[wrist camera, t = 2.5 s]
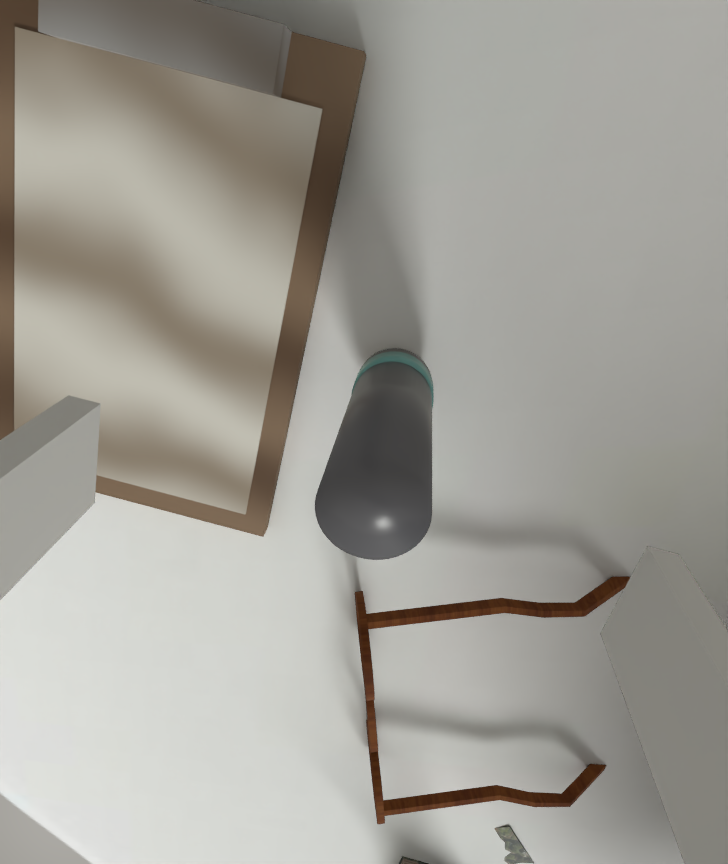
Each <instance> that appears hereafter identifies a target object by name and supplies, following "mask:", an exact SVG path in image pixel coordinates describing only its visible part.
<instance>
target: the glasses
mask: <svg viewBox="0 0 728 864" xmlns="http://www.w3.org/2000/svg"><path fill="white" fill-rule="evenodd" d="M629 579H630V577H611V578H610V579H608V580H607V581H606V582H604V583H603V584H601V585H600V586H598V587H597V588H595V589H594V590H593V591H591V592H590V593H588V594H587V595H585V596H584V597H582V598H581V599H579V600H578V601H577V602H575V603H537V602H529V601H521V600H513V599H505V598H498V599H489V600H481V601H472V602H464V603H455V604H447V605H438V606H430V607H421V608H413V609H404V610H396V611H387V612H379V613H370V614H366V609H365V602H364V596H363V591H359V592H355V602H356V613H357V624H358V634H359V644H360V653H361V662H362V671H363V679H364V687H365V697H366V707H367V719H366V723H367V734H368V745H369V755H370V765H371V774H372V783H373V792H374V801H375V809H376V817H377V824H383V823H385V817H384V816H387V815H394V814H402V813H409V812H416V811H423V810H431V809H438V808H445V807H452V806H459V805H467V804H474V803H481V802H488V801H496V800H503V801H508V802H513V803H518V804H523V805H527V806H532V807H570V806H571V805H572V804H573V803H574V802H575V801H576V800H577V799H578V797H579V796H580V795H581V794H582V793H583V792H584V791H585V790H586V789H587V788H588V787H589V786H590V785H591V784H592V782H593V781H594V780H595V779H596V778H597V777H598V776H599V775H600V774H601V773H602V772H603V771H604V769H605V767H606V765H598V764H590V765H589V766H588V767H587V768H586V769H585V770H584V771H583V772H582V773H581V774H580V775H579V776H578V777H577V778H576V779H575V780H574V782H573V783H572V784H571V785H570V786H569V787H568V788H567V789H566V790H565V791H564V792H563V793H562V794H557V793H535V792H526V791H521V790H517V789H512V788H508V787H503V786H498V785H494V786H487V787H479V788H472V789H464V790H457V791H450V792H442V793H435V794H428V795H420V796H413V797H406V798H399V799H391V800H384V801H383V794H382V785H381V775H380V766H379V757H378V743H377V731H376V719H375V708H374V682H373V670H372V660H371V650H370V641H369V632H368V629H374V628H382V627H390V626H399V625H407V624H416V623H424V622H432V621H441V620H449V619H457V618H466V617H474V616H482V615H491V614H499V613H511V614H519V615H527V616H536V617H544V618H545V617H582V616H586V615H587V614H589V613H590V612H591V611H593V610H594V609H596V608H597V607H598V606H600V605H601V604H603V603H604V602H605V601H607V600H608V599H610V598H611V597H613V596H614V595H615V594H617V593H618V592H620V591H621V590H622V589H624V588H625V587H626V585H627V583H628V581H629Z"/></svg>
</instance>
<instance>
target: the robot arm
mask: <svg viewBox="0 0 728 864" xmlns="http://www.w3.org/2000/svg"><path fill="white" fill-rule="evenodd" d="M100 408H101V404H100V403H96V402H93V401H89V400H85V399H81V398H77V397H73V396H70V395H68V396H67V397H65V398H63V399H62V400H60V401H59V402H57V403H56V404H54V405H53V406H51V407H50V408H48V409H47V410H45V411H44V412H42V413H41V414H39V415H38V416H36V417H35V418H33V419H32V420H30V421H28V422H27V423H25V424H24V425H22V426H21V427H19V428H18V429H16V430H15V431H13V432H12V433H10V434H9V435H7V436H6V437H4V438H3V439H1V440H0V600H1V599H2V598H3V597H4V596H5V595H6V594H7V593H8V592H9V591H10V590H11V589H12V588H13V587H14V586H15V584H16V583H17V582H18V581H19V580H20V579H21V578H22V577H23V576H24V575H25V574H26V573H27V572H28V571H29V570H30V569H31V568H32V567H33V566H34V565H35V564H36V563H37V562H38V561H39V560H40V559H41V558H42V557H43V556H44V555H45V554H46V552H47V551H48V550H49V549H50V548H51V547H52V546H53V545H54V544H55V543H56V542H57V541H58V540H59V539H60V538H61V537H62V536H63V535H64V534H65V533H66V532H67V531H68V530H69V529H70V528H71V527H72V526H73V525H74V524H75V523H76V522H77V520H78V519H79V518H80V517H81V516H82V515H83V514H84V513H85V512H86V511H87V510H88V509H89V508H90V507H91V506H92V505H93V504H94V503H95V491H96V475H97V458H98V441H99V425H100ZM601 636H602V639H603V642H604V644H605V647H606V650H607V653H608V655H609V658H610V661H611V663H612V666H613V669H614V672H615V674H616V677H617V680H618V683H619V685H620V688H621V691H622V694H623V696H624V699H625V702H626V705H627V707H628V710H629V713H630V715H631V718H632V721H633V724H634V726H635V729H636V732H637V735H638V737H639V740H640V743H641V746H642V748H643V751H644V754H645V757H646V759H647V762H648V765H649V767H650V770H651V773H652V776H653V778H654V781H655V784H656V787H657V789H658V792H659V795H660V798H661V800H662V803H663V806H664V809H665V811H666V814H667V817H668V819H669V822H670V825H671V828H672V830H673V833H674V836H675V839H676V841H677V844H678V847H679V850H680V852H681V855H682V858H683V860H684V863H685V864H728V631H727V629H726V627H725V626H724V624H723V623H722V621H721V620H720V618H719V616H718V615H717V613H716V612H715V610H714V609H713V607H712V605H711V604H710V602H709V601H708V599H707V598H706V596H705V595H704V593H703V591H702V590H701V588H700V587H699V585H698V584H697V582H696V580H695V579H694V577H693V576H692V574H691V573H690V571H689V569H688V568H687V566H686V565H685V563H684V562H683V560H682V558H681V557H680V555H679V554H676V553H672V552H668V551H665V550H661V549H657V548H653V547H649V546H647V548H646V549H645V551H644V553H643V555H642V557H641V559H640V561H639V562H638V564H637V566H636V568H635V570H634V572H633V574H632V575H631V577H630V579H629V581H628V583H627V585H626V587H625V588H624V590H623V592H622V594H621V596H620V598H619V600H618V602H617V603H616V605H615V607H614V609H613V611H612V613H611V615H610V616H609V618H608V620H607V622H606V624H605V626H604V628H603V629H602V631H601Z"/></svg>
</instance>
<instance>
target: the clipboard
mask: <svg viewBox="0 0 728 864" xmlns="http://www.w3.org/2000/svg"><path fill="white" fill-rule="evenodd" d="M365 60H366V54H365V52H364V51H361V50H357V49H354V48H350V47H346V46H342V45H339V44H335V43H331V42H327V41H324V40H320V39H316V38H313V37H309V36H305V35H301V34H298V33H294V32H291V31H290V30H289V29H288V28H287V27H286V26H285V25H284V24H282V23H278V22H274V21H270V20H267V19H263V18H259V17H255V16H252V15H248V14H244V13H240V12H237V11H233V10H229V9H226V8H222V7H218V6H214V5H211V4H207V3H203V2H199V1H196V0H0V440H1V439H3V438H4V437H6V436H7V435H9V434H10V433H12V432H13V431H15V430H16V429H18V428H19V427H21V426H22V425H24V424H25V423H27V422H28V421H30V420H32V419H33V418H35V417H36V416H38V415H39V414H41V413H42V412H44V411H45V410H47V409H48V408H50V407H51V406H53V405H54V404H56V403H57V402H59V401H60V400H62V399H63V398H65V397H67V396H68V395H70V396H73V397H77V398H81V399H85V400H89V401H93V402H96V403H100V404H101V408H100V425H99V441H98V458H97V475H96V491H95V492H97V493H101V494H104V495H108V496H112V497H116V498H119V499H123V500H127V501H131V502H134V503H138V504H142V505H146V506H150V507H153V508H157V509H161V510H165V511H168V512H172V513H176V514H180V515H183V516H187V517H191V518H195V519H199V520H202V521H206V522H210V523H214V524H217V525H221V526H225V527H229V528H232V529H236V530H240V531H244V532H248V533H251V534H255V535H259V536H264V534H265V532H266V530H267V527H268V523H269V518H270V513H271V508H272V504H273V499H274V494H275V489H276V485H277V480H278V475H279V470H280V465H281V461H282V456H283V451H284V446H285V442H286V437H287V432H288V427H289V422H290V418H291V413H292V408H293V403H294V399H295V394H296V389H297V384H298V379H299V375H300V370H301V365H302V360H303V356H304V351H305V346H306V341H307V336H308V332H309V327H310V322H311V317H312V313H313V308H314V303H315V298H316V294H317V289H318V284H319V279H320V274H321V270H322V265H323V260H324V255H325V251H326V246H327V241H328V236H329V231H330V227H331V222H332V217H333V212H334V208H335V203H336V198H337V193H338V188H339V184H340V179H341V174H342V169H343V165H344V160H345V155H346V150H347V146H348V141H349V136H350V131H351V126H352V122H353V117H354V112H355V107H356V103H357V98H358V93H359V88H360V83H361V79H362V74H363V69H364V64H365Z"/></svg>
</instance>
